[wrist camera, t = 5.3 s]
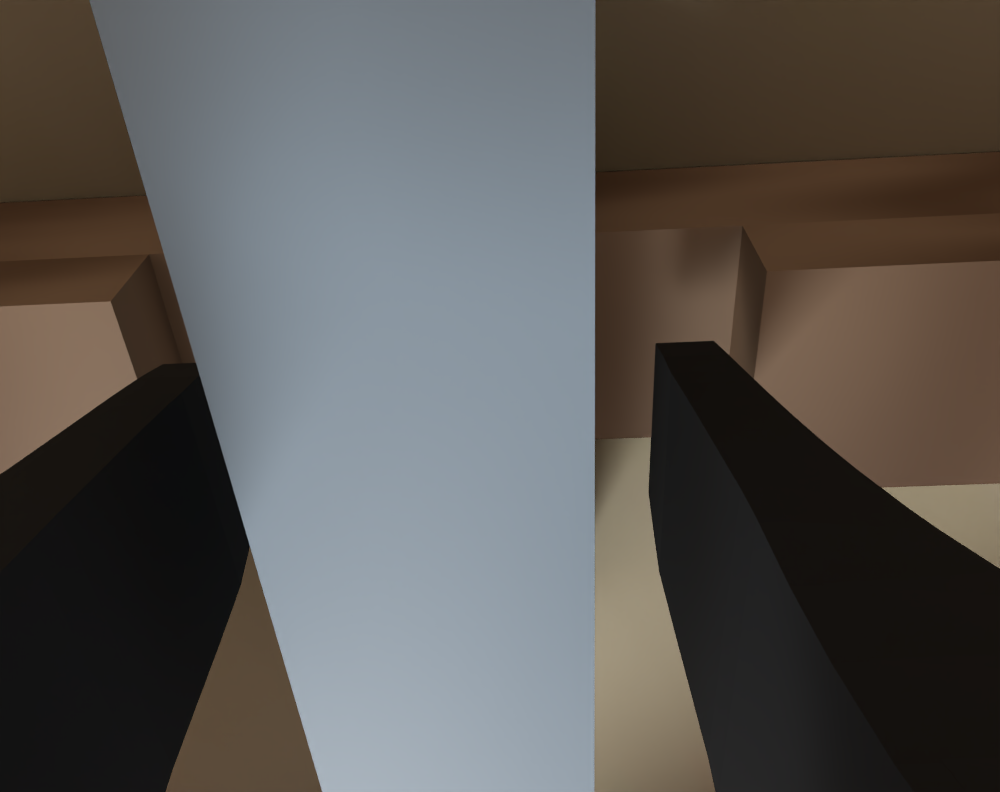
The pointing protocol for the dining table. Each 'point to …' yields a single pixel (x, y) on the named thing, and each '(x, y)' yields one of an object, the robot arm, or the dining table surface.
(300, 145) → the plain blue-gray board
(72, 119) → the dining table surface
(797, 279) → the notched rail
